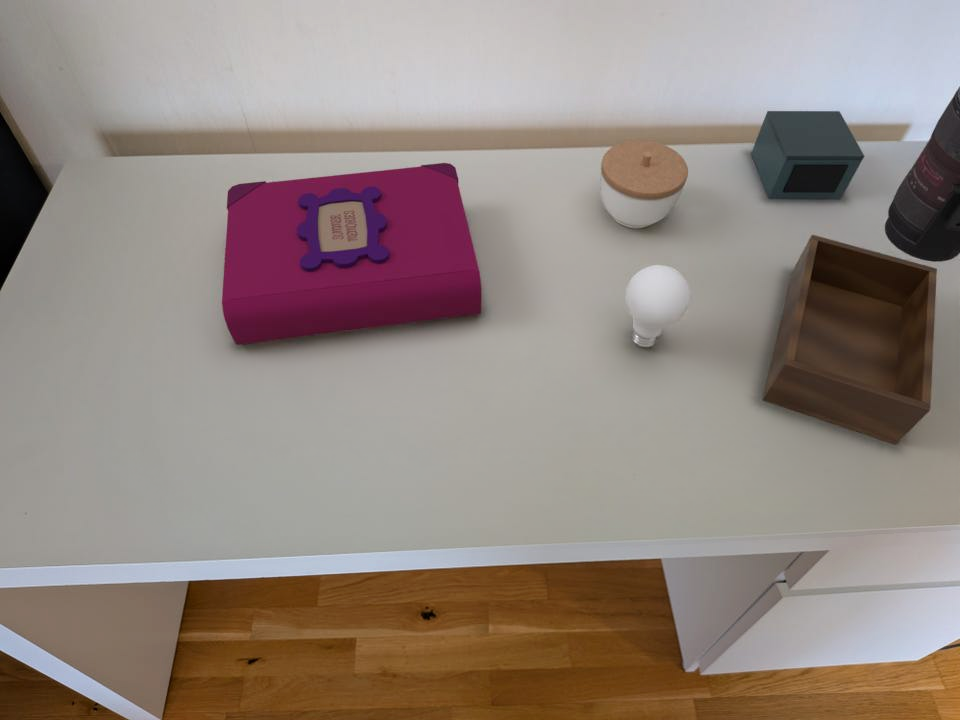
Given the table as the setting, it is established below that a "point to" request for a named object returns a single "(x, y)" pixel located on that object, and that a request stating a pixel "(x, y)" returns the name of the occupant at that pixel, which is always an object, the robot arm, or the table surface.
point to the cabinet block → (806, 155)
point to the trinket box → (641, 182)
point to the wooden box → (856, 340)
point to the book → (347, 253)
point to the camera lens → (927, 186)
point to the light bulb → (655, 302)
